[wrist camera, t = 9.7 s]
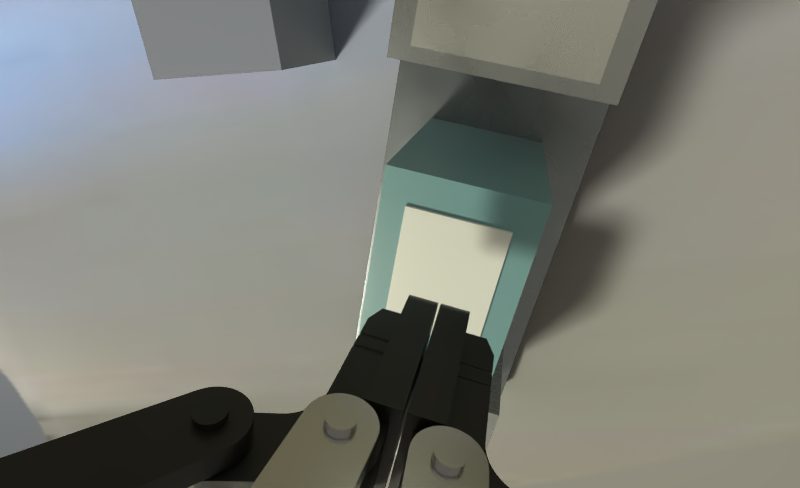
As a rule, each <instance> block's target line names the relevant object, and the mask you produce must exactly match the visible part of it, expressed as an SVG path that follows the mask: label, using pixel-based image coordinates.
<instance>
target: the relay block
mask: <svg viewBox="0 0 800 488" xmlns="http://www.w3.org/2000/svg"><path fill="white" fill-rule="evenodd" d="M131 1H132V5H133V8H134V12H135V15H136V19H137V22H138V26H139V29H140V33H141V36H142V40H143V43H144V47H145V50H146V54H147V57H148V60H149V64H150V67H151V71H152V74H153V78H154V80H157V79H170V78H183V77H196V76H209V75H222V74H235V73H249V72H262V71H275V70H284V69H289V68H295V67H300V66H305V65H310V64H315V63H321V62H326V61H331V60H336V57H335V49H334V42H333V34H332V26H331V19H330V11H329V3H328V0H131Z"/></svg>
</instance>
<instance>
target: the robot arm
mask: <svg viewBox="0 0 800 488" xmlns="http://www.w3.org/2000/svg"><path fill="white" fill-rule="evenodd" d="M437 307H438V302H434V301H431V300H427V299H424V298H420V297H417V296H413V295H409V296H408V299H407V301H406V303H405V305H404V308H403V310H402V312H401V313H397V312H394V311H390V310H387V309H381V310H380V311H378V312H376V313H375V314H373V315H372V316H370V317H369V318H368V319H367V321H366V323H365V325H364V326H363V328H362V330H361V332H360V335H359V336H358V337H357V339H356V341H355V343H354V346H353V347H352V349H351V350H350V352H349V354H348V356H347V358H346V360H345V362H344V363H343V365H342V367H341V369H340V371H339V373H338V374H337V376H336V378H335V380H334V382H333V384H332V386H331V387H330V389H329V391H328V393H327V394H326V395H324V396H321V397H319V398H317V399H315V400H314V401H312V402H311V403H310V404H309V405H308V406H307V407H306V408H305V410H303V411H300V412H296V413H289V414H275V413H254V410H253V406H252V404H251V402H250V400H249V399H248V398H247V397H246V396H245V395H244V394H243V393H241V392H239V391H237V390H235V389H232V388H227V387H208V388H203V389H200V390H196V391H193V392H190V393H188V394H185V395H182V396H179V397H176V398H173V399H170V400H167V401H164V402H161V403H159V404H156V405H153V406H150V407H147V408H144V409H141V410H138V411H135V412H133V413H130V414H127V415H124V416H121V417H118V418H115V419H112V420H109V421H106V422H104V423H101V424H98V425H95V426H92V427H89V428H86V429H83V430H80V431H77V432H75V433H72V434H69V435H66V436H63V437H60V438H57V439H54V440H51V441H48V442H46V443H43V444H40V445H37V446H34V447H31V448H28V449H26V450H23V451H20V452H17V453H14V454H11V455H8V456H5V457H2V458H0V488H385V487H386V483H387V480H388V477H389V474H390V470H391V467H392V464H393V460H394V457H395V454H396V451H397V447H398V444H399V447H398V451H397V455H396V459H395V463H394V467H393V471H392V475H391V479H390V483H389V487H388V488H509V487H508V486H507V485H506V484H504V483H503V482H502V481H501V479H500V478H499V477H498V476H497V475H496V473H495V472H494V470H493V469H492V467H491V465H490V463H489V460H488V457H487V454H486V433H487V422H488V412H489V402H490V392H491V389H490V388H491V382H492V372H493V362H494V354H493V352H492V349H491V347H490V345H489V343H488V340H487V339H486V338H483V337H480V336H476V335H473V334H469V333H466V330H467V325H468V320H469V315H470V312H469V311H466V310H462V309H459V308H455V307H452V306H448V305H445V304H441V305H440V308H439V311H438V314H437V317H436V321H435V324H434V327H433V323H434V319H435V315H436V311H437ZM432 327H433V330H432ZM431 330H432V334H431ZM430 334H431V337H430ZM429 338H430V340H429ZM428 342H429V343H428ZM427 346H428V347H427ZM401 434H402V435H401ZM400 438H401V439H400ZM399 441H400V443H399Z"/></svg>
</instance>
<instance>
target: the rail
mask: <svg viewBox="0 0 800 488" xmlns="http://www.w3.org/2000/svg"><path fill="white" fill-rule="evenodd" d="M657 2H658V0H395V5H394V12H393V19H392V26H391V32H390V39H389V46H388V53H387V57H390V58H395V59H399V60H400V66H399V72H398V79H397V85H396V91H395V97H394V104H393V110H392V116H391V123H390V129H389V135H388V141H387V148H386V154H385V160H384V167H383V173H382V179H381V185H380V192H379V198H378V204H377V211H376V217H375V223H374V229H373V236H372V242H371V248H370V254H369V261H368V267H367V273H366V280H365V286H364V292H363V298H362V305H361V311H360V317H359V324H358V330H357V336H356V339H357V337H358V335H359V329H360V323H361V316H362V310H363V304H364V298H365V291H366V285H367V279H368V272H369V266H370V260H371V254H372V247H373V241H374V235H375V229H376V222H377V216H378V210H379V204H380V197H381V191H382V185H383V178H384V172H385V166H386V164H387V163H388V162H389V161H390V160H391V159H392V158H393V157H394V156H395V155H396V154H397V153H398V152H399V151H400V150H401V149H402V148H403V147H404V146H405V144H406V143H407V142H408V141H409V140H410V139H411V138H412V137H413V136H414V135H415V134H416V133H417V132H418V131H419V130H420V129H421V128H422V127H423V126H424V125H425V124H426V123H427V122H428V121H429V120H430V119H431V118H435V119H439V120H444V121H448V122H453V123H457V124H462V125H466V126H471V127H475V128H479V129H484V130H488V131H493V132H497V133H502V134H506V135H510V136H515V137H519V138H524V139H528V140H533V141H537V142H541V143H544V150H545V157H546V164H547V170H548V177H549V184H550V191H551V198H552V208H551V211H550V214H549V217H548V220H547V222H546V225H545V228H544V231H543V234H542V237H541V240H540V242H539V245H538V248H537V251H536V254H535V257H534V260H533V262H532V265H531V268H530V271H529V274H528V277H527V279H526V282H525V285H524V288H523V291H522V294H521V297H520V299H519V302H518V305H517V308H516V311H515V314H514V317H513V319H512V322H511V325H510V328H509V331H508V334H507V337H506V339H505V342H504V345H503V348H502V351H501V354H500V356H499V359H498V362H497V365H496V368H495V371H494V374H493V376H492V382H491V388H490V389H491V392H490V402H489V412H488V422H487V433H486V449H487V446H488V443H489V441H490V438H491V436H492V433H493V430H494V428H495V425H496V422H497V420H498V417H499V410H500V396H501V394H502V391H503V389H504V386H505V383H506V381H507V378H508V375H509V373H510V370H511V367H512V365H513V362H514V359H515V357H516V354H517V351H518V349H519V346H520V343H521V341H522V338H523V335H524V333H525V330H526V327H527V325H528V322H529V319H530V317H531V314H532V311H533V308H534V306H535V303H536V300H537V298H538V295H539V292H540V290H541V287H542V284H543V282H544V279H545V276H546V274H547V271H548V268H549V266H550V263H551V260H552V258H553V255H554V252H555V250H556V247H557V244H558V242H559V239H560V236H561V234H562V231H563V228H564V226H565V223H566V220H567V218H568V215H569V212H570V210H571V207H572V204H573V202H574V199H575V196H576V194H577V191H578V188H579V186H580V183H581V180H582V178H583V175H584V172H585V170H586V167H587V164H588V162H589V159H590V156H591V154H592V151H593V148H594V146H595V143H596V140H597V138H598V135H599V132H600V130H601V127H602V124H603V121H604V119H605V116H606V113H607V111H608V108H609V105H610V104H612V105H617V106H618V104H619V101H620V98H621V96H622V93H623V91H624V88H625V85H626V83H627V80H628V77H629V75H630V72H631V70H632V67H633V64H634V62H635V59H636V57H637V54H638V51H639V49H640V46H641V43H642V41H643V38H644V36H645V33H646V30H647V28H648V25H649V23H650V20H651V17H652V15H653V12H654V9H655V7H656V4H657ZM353 346H354V345H353ZM353 346H352V347H353ZM351 349H352V348H351ZM345 360H346V359H345ZM344 362H345V361H344ZM401 435H402V434H401ZM400 439H401V438H400ZM399 443H400V441H399ZM398 447H399V444H398ZM398 447H397V451H398ZM397 451H396V454H395V457H394V460H395V459H396V455H397Z"/></svg>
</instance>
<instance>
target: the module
mask: <svg viewBox="0 0 800 488" xmlns="http://www.w3.org/2000/svg"><path fill="white" fill-rule="evenodd" d="M551 208H552V198H551V191H550V184H549V177H548V170H547V164H546V157H545V150H544V143H541V142H537V141H533V140H528V139H524V138H519V137H515V136H510V135H506V134H502V133H497V132H493V131H488V130H484V129H479V128H475V127H471V126H466V125H462V124H457V123H453V122H448V121H444V120H439V119H435V118H431V119H430V120H429V121H428V122H427V123H426V124H425V125H424V126H423V127H422V128H421V129H420V130H419V131H418V132H417V133H416V134H415V135H414V136H413V137H412V138H411V139H410V140H409V141H408V142H407V143H406V144H405V146H404V147H403V148H402V149H401V150H400V151H399V152H398V153H397V154H396V155H395V156H394V157H393V158H392V159H391V160H390V161H389V162H388V163H387V164H386V166H385V172H384V178H383V185H382V191H381V197H380V204H379V210H378V216H377V222H376V229H375V235H374V241H373V247H372V254H371V260H370V266H369V272H368V279H367V285H366V291H365V298H364V304H363V310H362V316H361V323H360V329H359V335H360V332H361V330H362V328H363V326H364V325H365V323H366V321H367V319H368V318H369V317H370V316H372V315H373V314H375V313H376V312H378V311H380V310H381V309H387V310H390V311H394V312H397V313H401V312H402V310H403V308H404V305H405V303H406V301H407V299H408V296H409V295H413V296H417V297H420V298H424V299H427V300H431V301H434V302H438V307H437V311H436V315H435V319H434V323H433V327H434V324H435V321H436V317H437V314H438V311H439V308H440V305H441V304H445V305H448V306H452V307H455V308H459V309H462V310H466V311H469V312H470V315H469V320H468V325H467V330H466V333H469V334H473V335H476V336H480V337H483V338H486V339H487V340H488V343H489V345H490V347H491V349H492V352H493V354H494V362H493V372H492V376H493V374H494V371H495V368H496V365H497V362H498V359H499V356H500V354H501V351H502V348H503V345H504V342H505V339H506V337H507V334H508V331H509V328H510V325H511V322H512V319H513V317H514V314H515V311H516V308H517V305H518V302H519V299H520V297H521V294H522V291H523V288H524V285H525V282H526V279H527V277H528V274H529V271H530V268H531V265H532V262H533V260H534V257H535V254H536V251H537V248H538V245H539V242H540V240H541V237H542V234H543V231H544V228H545V225H546V222H547V220H548V217H549V214H550V211H551ZM433 327H432V330H433ZM432 330H431V334H432ZM431 334H430V337H431ZM359 335H358V336H359ZM429 340H430V338H429ZM428 343H429V342H428ZM427 347H428V346H427Z"/></svg>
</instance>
